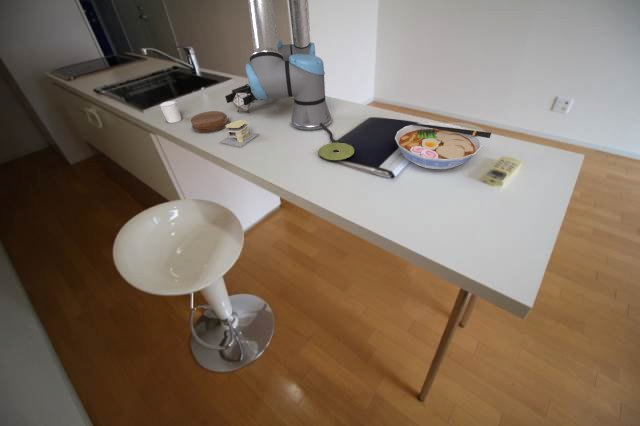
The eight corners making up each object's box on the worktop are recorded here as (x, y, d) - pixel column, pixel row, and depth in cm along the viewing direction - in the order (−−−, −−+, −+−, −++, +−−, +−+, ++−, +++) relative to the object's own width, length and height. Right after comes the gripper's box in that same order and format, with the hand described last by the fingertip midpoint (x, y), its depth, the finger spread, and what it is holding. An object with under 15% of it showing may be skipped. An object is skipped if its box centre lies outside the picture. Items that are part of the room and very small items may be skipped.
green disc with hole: (352, 166, 86) (352, 160, 84) (315, 164, 87) (315, 159, 86) (355, 148, 94) (355, 142, 93) (321, 147, 96) (321, 141, 94)
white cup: (186, 117, 123) (180, 101, 119) (174, 124, 119) (167, 107, 114) (174, 116, 126) (168, 99, 121) (162, 122, 121) (155, 105, 116)
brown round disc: (233, 127, 113) (230, 118, 111) (197, 136, 108) (193, 127, 106) (223, 115, 123) (221, 107, 120) (190, 123, 118) (187, 115, 115)
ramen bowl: (376, 170, 83) (379, 144, 78) (403, 138, 97) (406, 114, 92) (469, 193, 72) (479, 165, 67) (484, 153, 87) (493, 127, 81)
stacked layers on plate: (239, 131, 109) (235, 117, 106) (258, 135, 106) (255, 120, 102) (221, 142, 103) (216, 128, 99) (240, 146, 99) (236, 131, 96)
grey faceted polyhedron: (246, 121, 124) (236, 108, 114) (234, 110, 126) (222, 97, 117) (260, 106, 124) (251, 91, 115) (247, 96, 127) (237, 81, 117)
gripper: (287, 94, 130) (258, 112, 114) (250, 90, 137) (218, 107, 122) (285, 77, 125) (254, 93, 110) (246, 73, 133) (212, 88, 117)
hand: (235, 100), depth 116 cm, fingers closed on grey faceted polyhedron, 8 cm apart
